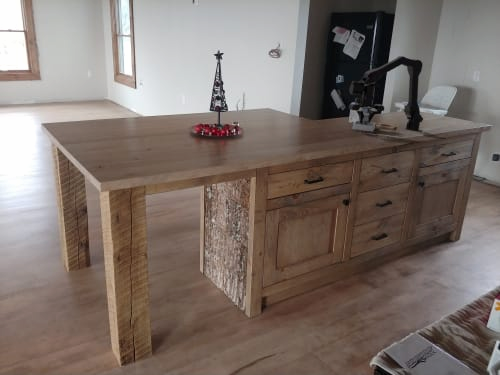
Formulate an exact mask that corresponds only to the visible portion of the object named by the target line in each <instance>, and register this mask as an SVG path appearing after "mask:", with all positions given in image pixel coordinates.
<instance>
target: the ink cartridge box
mask: <svg viewBox="0 0 500 375" xmlns="http://www.w3.org/2000/svg"><path fill="white" fill-rule="evenodd" d="M350 104H355V101H353V102H351V103H350ZM360 106H361V105H360ZM349 110H350V111H349V118H348V123H352V124H353V123H354V122H355V121H360V120H359V116H358V113H357V111H355V110H351V109H349ZM362 111H363V113H369V109H362Z"/></svg>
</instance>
